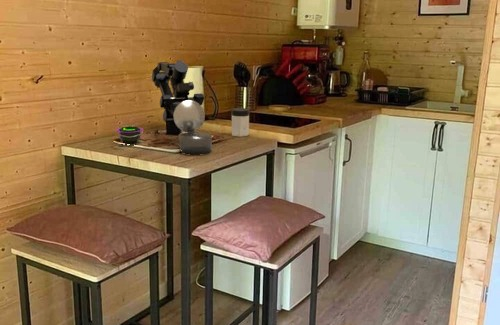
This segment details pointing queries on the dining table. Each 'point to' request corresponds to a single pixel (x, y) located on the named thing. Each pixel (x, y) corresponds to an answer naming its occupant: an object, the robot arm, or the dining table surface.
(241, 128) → the jar
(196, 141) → the cooker pot
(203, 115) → the cooker lid
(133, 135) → the toy cauldron
